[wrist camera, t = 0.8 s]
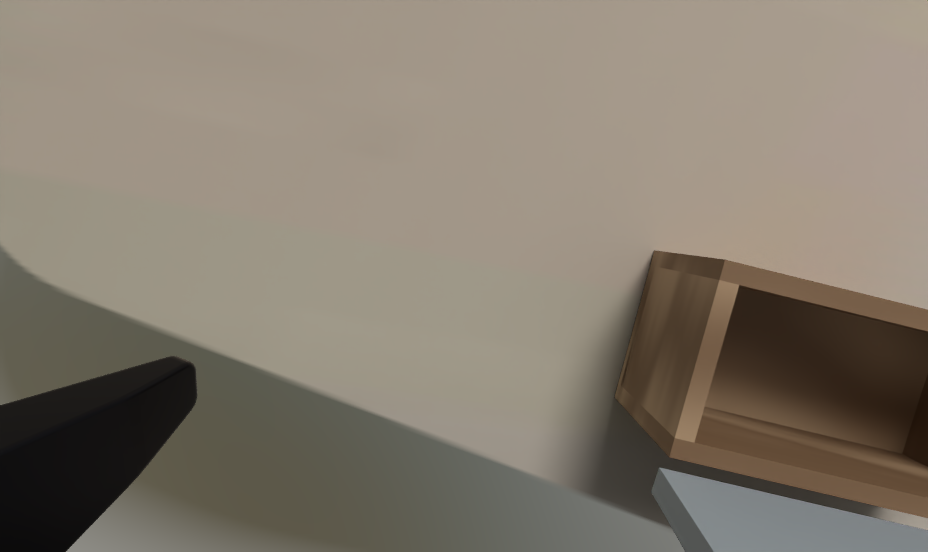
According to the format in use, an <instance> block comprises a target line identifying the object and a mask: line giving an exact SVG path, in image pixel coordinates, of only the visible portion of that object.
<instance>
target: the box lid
mask: <svg viewBox="0 0 928 552" xmlns="http://www.w3.org/2000/svg"><path fill="white" fill-rule="evenodd" d="M651 493H652V494H653V496H654V498H655V500H656V501H657V503H658V505H659V507H660V508H661V510H662V512H663V514H664V515H665V517H666V519H667V520H668V522H669V524H670V526H671V527H672V529H673V531H674V533H675V534H676V536H677V538H678V540H679V541H680V543H681V545H682V547H683V548H684V550H685V552H928V530H924V529H920V528H916V527H911V526H907V525H903V524H899V523H894V522H890V521H886V520H882V519H877V518H873V517H869V516H864V515H860V514H856V513H852V512H847V511H843V510H839V509H835V508H830V507H826V506H822V505H818V504H813V503H809V502H805V501H800V500H796V499H792V498H788V497H783V496H779V495H775V494H771V493H766V492H762V491H758V490H754V489H749V488H745V487H741V486H736V485H732V484H728V483H724V482H719V481H715V480H711V479H707V478H702V477H698V476H694V475H690V474H685V473H681V472H677V471H672V470H668V469H664V468H660V467H659V469H658V472H657V475H656V479H655V482H654V485H653V488H652V491H651Z"/></svg>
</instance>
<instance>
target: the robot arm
mask: <svg viewBox="0 0 928 552" xmlns="http://www.w3.org/2000/svg"><path fill="white" fill-rule="evenodd" d="M196 382H197V381H196V368H195V366H194V364H193V363H191V362H190V361H187V360H185V359H182V358H180V357H177V356H170V357H166V358H163V359H159V360H156V361H152V362H149V363H146V364H142V365H138V366H135V367H131V368H128V369H124V370H121V371H118V372H114V373H111V374H107V375H104V376H100V377H97V378H93V379H90V380H86V381H83V382H79V383H76V384H72V385H69V386H66V387H62V388H59V389H55V390H52V391H48V392H45V393H41V394H38V395H34V396H31V397H27V398H24V399H21V400H17V401H14V402H10V403H7V404H3V405H0V552H66V551H67V550H68V549H69V548H70V547H71V546H72V544H74V543H75V542H76V540H77V539H78V538H79V537H80V536H81V535H82V534H83V533H84V532H85V531H86V530H87V529H88V528H89V527H90V526H91V525H92V524H93V523H94V522H95V521H96V520H97V519H98V518H99V517H100V516H101V515H102V513H104V512H105V510H106V509H107V508H108V507H109V506H110V505H111V504H112V503H113V502H114V501H115V500H116V499H117V498H118V497H119V496H120V495H121V494H122V493H123V492H124V491H125V490H126V489H127V488H128V487H129V485H130V484H131V483H132V482H133V481H134V480H135V479H136V478H137V477H138V476H139V475H140V473H141V472H142V471H143V470H144V469H145V468H146V466H147V465H148V464H149V463H150V461H151V460H152V459H153V458H154V456H155V455H156V454H157V453H158V451H159V450H160V449H161V448H162V446H163V445H164V444H165V443H166V441H167V440H168V439H169V438H170V436H171V435H172V434H173V433H174V431H175V430H176V429H177V428H178V426H179V425H180V424H181V423H182V421H183V420H184V419H185V418H186V416H187V415H188V414H189V413H190V411H191V410H192V408H193V406H194V405H195V403H196V399H197V383H196Z"/></svg>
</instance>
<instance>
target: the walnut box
mask: <svg viewBox="0 0 928 552" xmlns="http://www.w3.org/2000/svg"><path fill="white" fill-rule="evenodd" d="M615 398H616V399H617V401H618V402H619V403H620V404H621V405H622V406H623V407H624V408H625V409H626V410H627V411H628V413H629V414H630V415H631V416H632V417H633V418H634V419H635V420H636V421H637V422H638V424H639V425H640V426H641V427H642V428H643V429H644V430H645V431H646V432H647V433H648V435H649V436H650V437H651V438H652V439H653V440H654V441H655V442H656V443H657V444H658V445H659V447H660V448H661V449H662V450H663V451H664V452H665V453H666V454H667V455H668V456H669V457H670V458H674V459H679V460H683V461H687V462H691V463H696V464H700V465H704V466H708V467H713V468H717V469H721V470H726V471H730V472H734V473H738V474H743V475H747V476H751V477H755V478H760V479H764V480H768V481H772V482H777V483H781V484H785V485H789V486H794V487H798V488H802V489H806V490H811V491H815V492H819V493H823V494H828V495H832V496H836V497H840V498H845V499H849V500H853V501H857V502H862V503H866V504H870V505H874V506H879V507H883V508H887V509H891V510H896V511H900V512H904V513H908V514H913V515H917V516H921V517H925V518H928V310H926V309H922V308H918V307H914V306H910V305H906V304H902V303H898V302H894V301H890V300H886V299H882V298H878V297H874V296H870V295H866V294H862V293H858V292H853V291H849V290H845V289H841V288H837V287H833V286H829V285H825V284H821V283H817V282H813V281H809V280H805V279H801V278H797V277H793V276H789V275H785V274H781V273H777V272H773V271H769V270H764V269H760V268H756V267H752V266H748V265H744V264H740V263H736V262H732V261H728V260H723V259H715V258H708V257H700V256H692V255H685V254H677V253H669V252H662V251H654V254H653V258H652V261H651V265H650V269H649V272H648V276H647V280H646V283H645V287H644V291H643V294H642V298H641V302H640V305H639V309H638V313H637V316H636V320H635V324H634V327H633V331H632V335H631V338H630V342H629V346H628V349H627V353H626V357H625V360H624V364H623V368H622V371H621V375H620V379H619V382H618V386H617V390H616V393H615Z"/></svg>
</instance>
